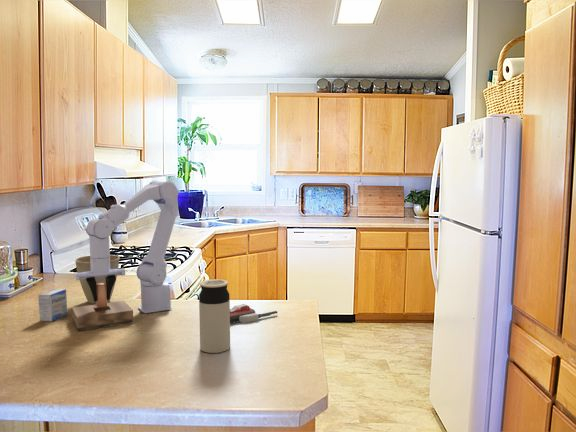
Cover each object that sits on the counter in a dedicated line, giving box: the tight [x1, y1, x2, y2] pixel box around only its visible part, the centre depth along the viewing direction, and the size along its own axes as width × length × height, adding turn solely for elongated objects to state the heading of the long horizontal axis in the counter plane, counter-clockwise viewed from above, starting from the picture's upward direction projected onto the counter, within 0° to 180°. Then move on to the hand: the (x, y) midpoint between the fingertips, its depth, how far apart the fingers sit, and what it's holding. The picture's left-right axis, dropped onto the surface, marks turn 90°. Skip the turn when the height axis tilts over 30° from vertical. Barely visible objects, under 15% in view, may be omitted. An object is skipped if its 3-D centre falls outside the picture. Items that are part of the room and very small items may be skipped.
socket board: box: [71, 300, 134, 332], centre depth 154 cm, size 16×13×4 cm
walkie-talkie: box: [230, 303, 278, 325], centre depth 157 cm, size 9×4×20 cm
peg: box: [96, 283, 108, 308], centre depth 153 cm, size 3×3×7 cm
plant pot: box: [74, 254, 120, 305], centre depth 176 cm, size 15×15×16 cm
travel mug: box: [198, 278, 231, 354], centre depth 130 cm, size 8×8×18 cm
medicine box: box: [38, 288, 68, 323], centre depth 157 cm, size 8×4×9 cm, turn 168°
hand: (101, 300), depth 153 cm, fingers closed on peg, 3 cm apart
